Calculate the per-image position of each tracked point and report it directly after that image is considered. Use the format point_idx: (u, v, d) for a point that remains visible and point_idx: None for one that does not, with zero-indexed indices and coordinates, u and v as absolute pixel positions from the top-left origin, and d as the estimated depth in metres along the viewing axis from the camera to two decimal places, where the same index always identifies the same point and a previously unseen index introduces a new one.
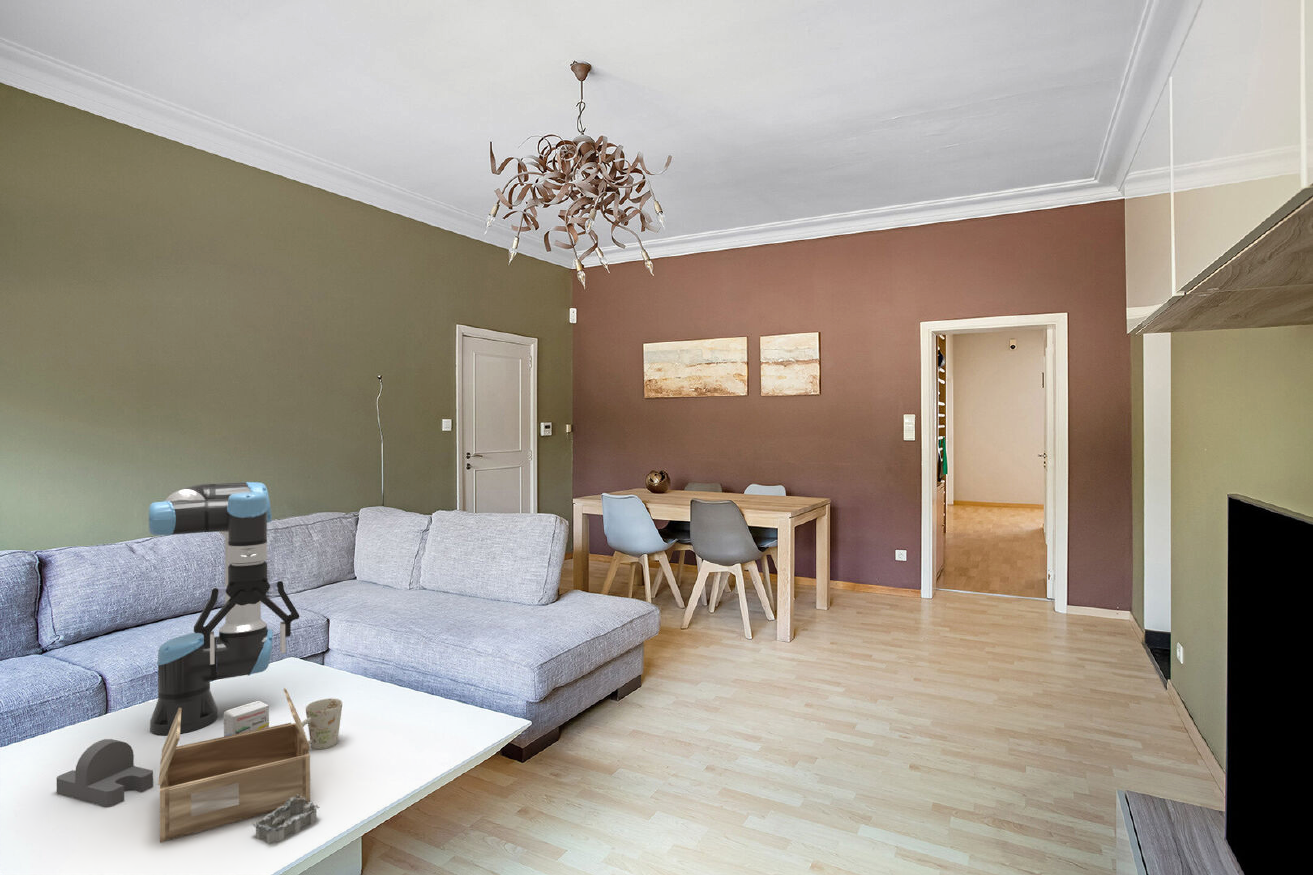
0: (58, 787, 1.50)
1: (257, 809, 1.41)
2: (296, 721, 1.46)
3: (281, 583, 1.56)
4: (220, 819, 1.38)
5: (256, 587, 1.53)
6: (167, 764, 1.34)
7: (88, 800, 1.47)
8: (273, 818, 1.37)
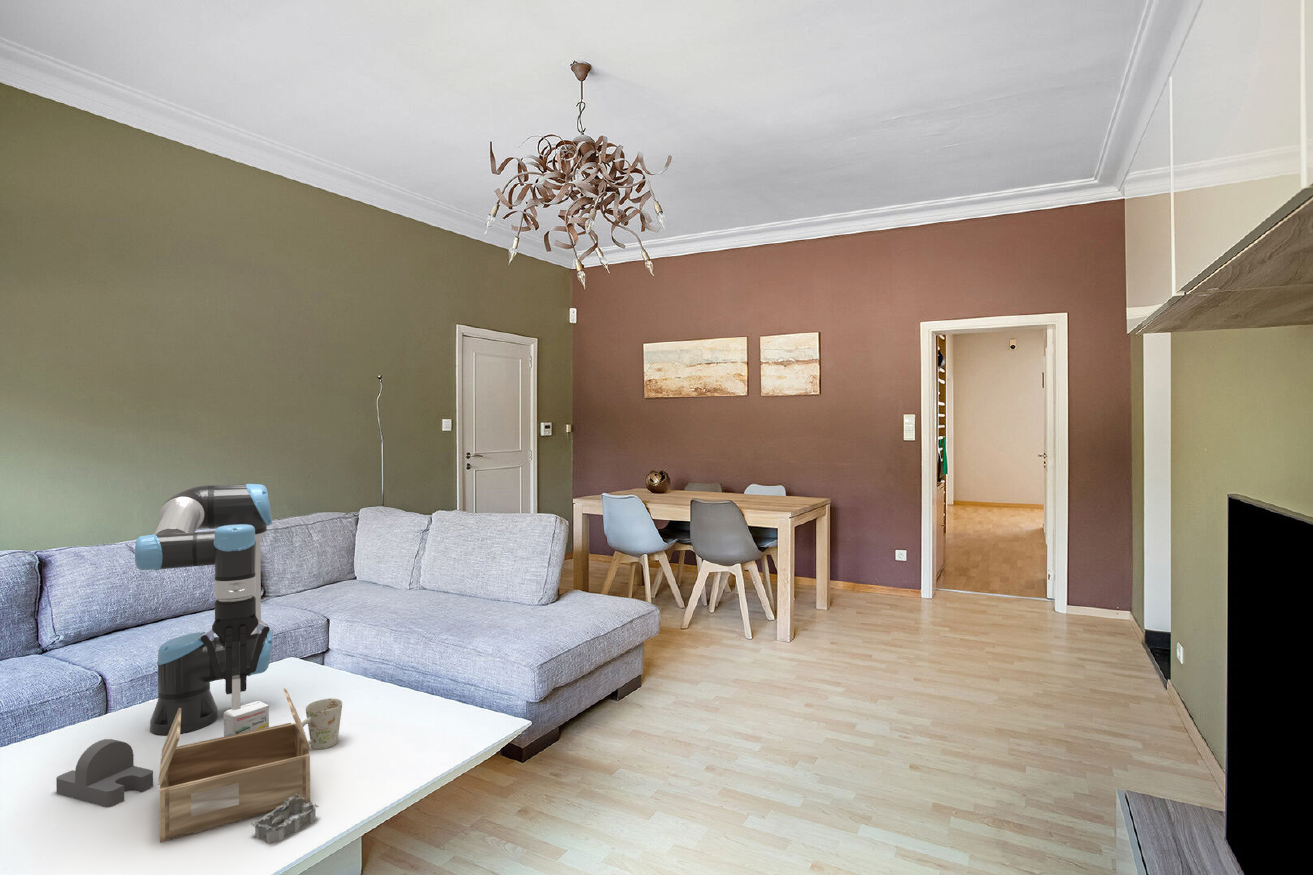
0: (58, 787, 1.50)
1: (257, 809, 1.41)
2: (296, 721, 1.46)
3: (268, 629, 1.50)
4: (220, 819, 1.38)
5: (246, 625, 1.48)
6: (167, 764, 1.34)
7: (88, 800, 1.47)
8: (272, 818, 1.37)
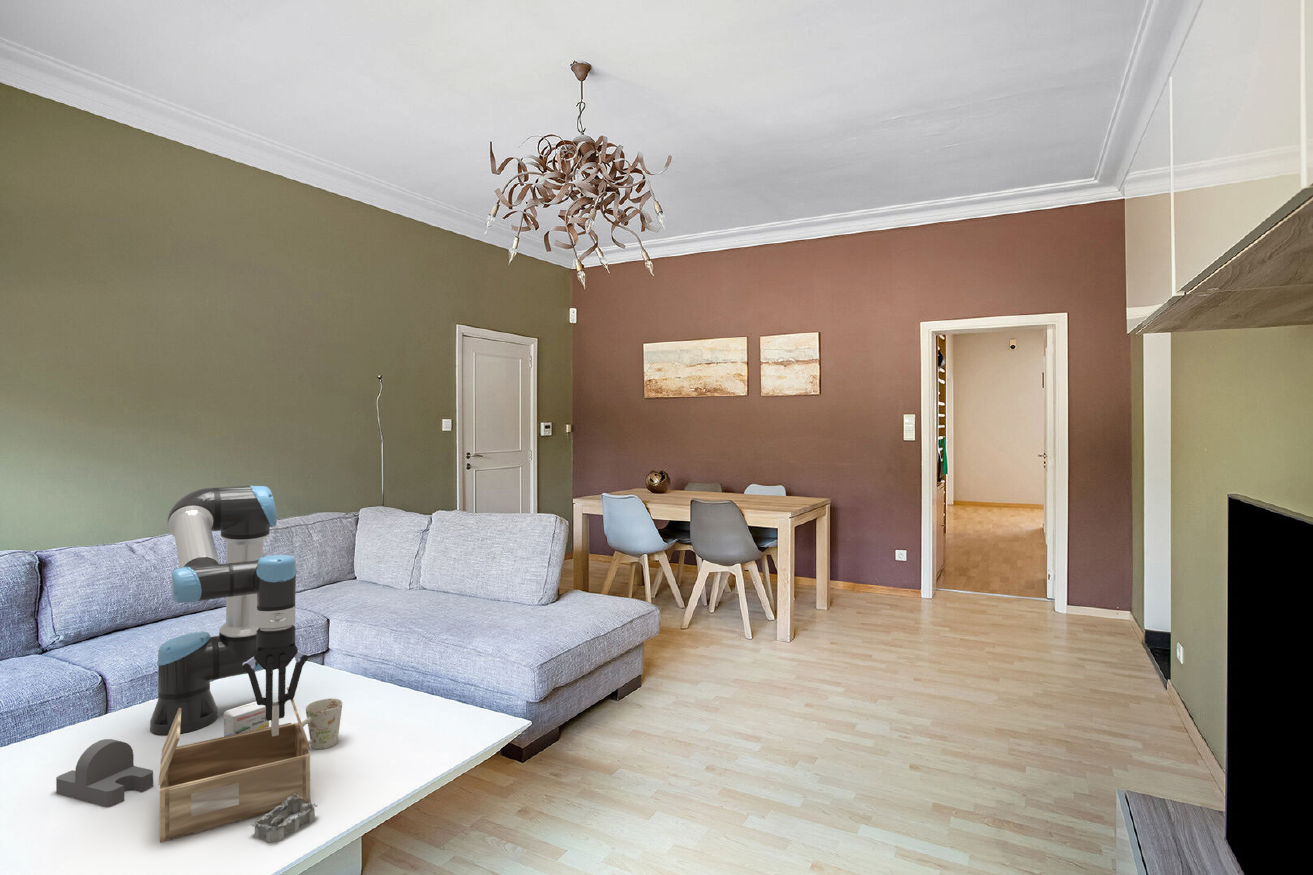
0: (58, 787, 1.50)
1: (257, 809, 1.41)
2: (299, 720, 1.46)
3: (306, 657, 1.54)
4: (220, 819, 1.38)
5: (286, 653, 1.52)
6: (167, 764, 1.34)
7: (88, 800, 1.47)
8: (271, 818, 1.37)
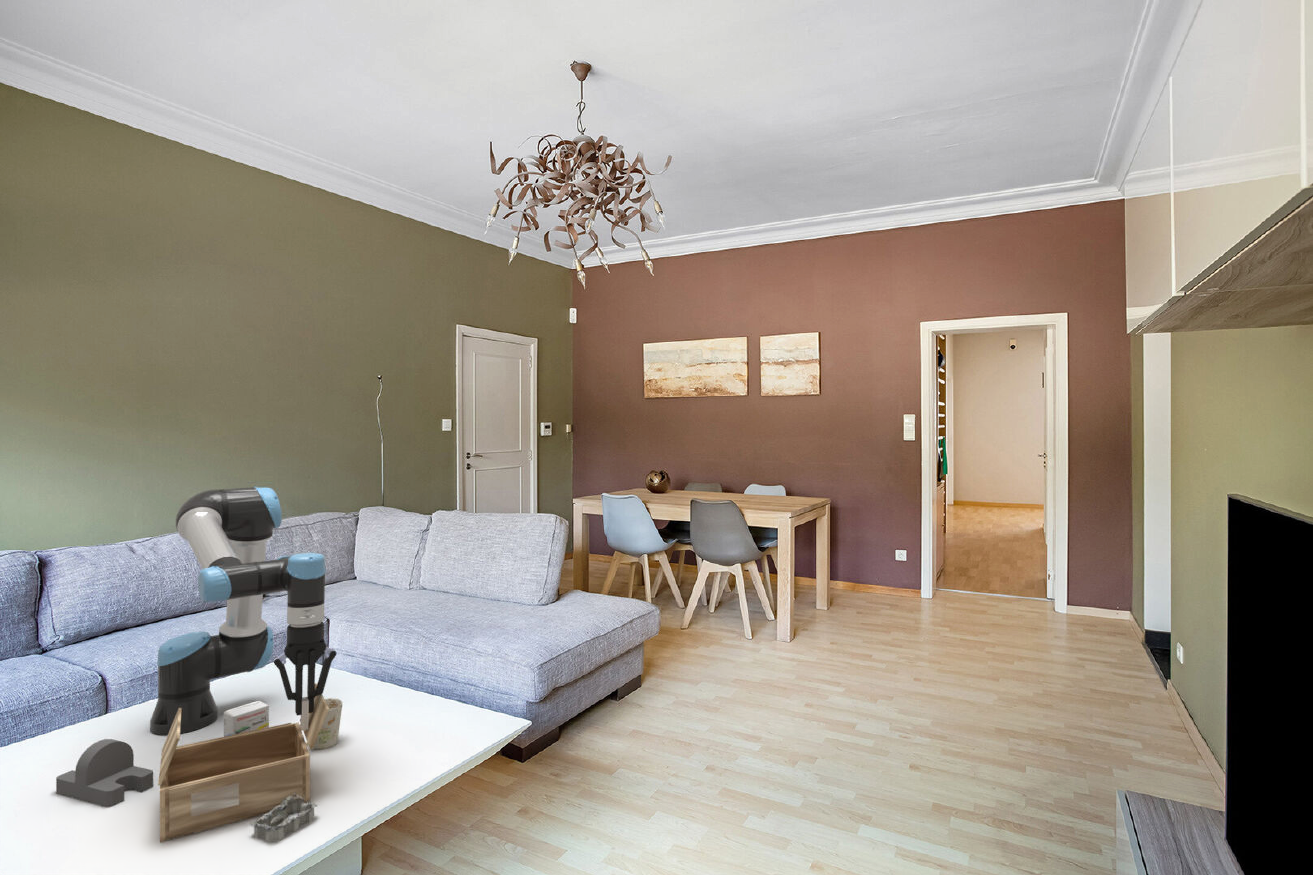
0: (58, 787, 1.50)
1: (257, 809, 1.41)
2: (324, 716, 1.49)
3: (335, 653, 1.57)
4: (220, 819, 1.38)
5: (316, 649, 1.55)
6: (167, 764, 1.34)
7: (88, 800, 1.47)
8: (271, 817, 1.37)
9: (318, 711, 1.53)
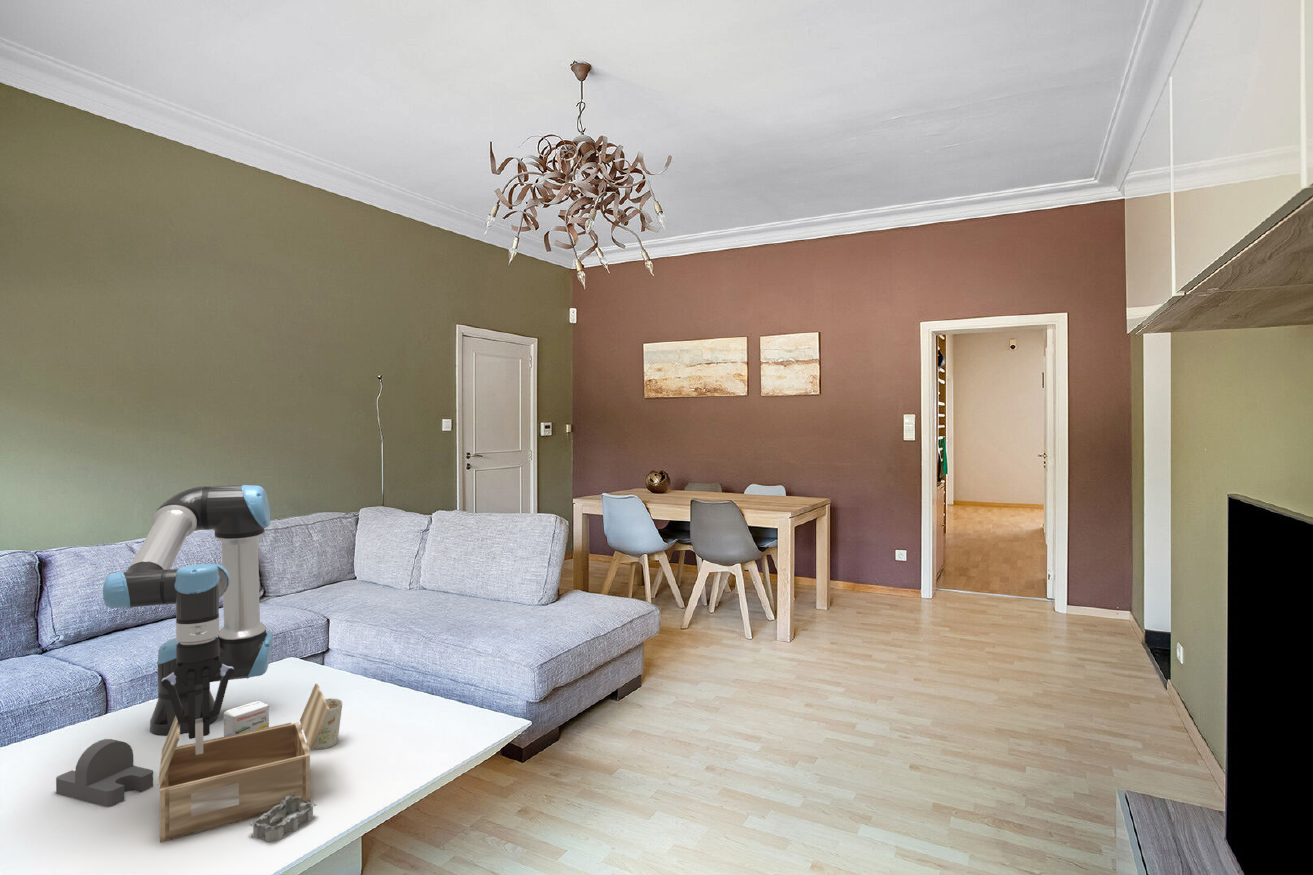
0: (58, 787, 1.50)
1: (257, 809, 1.41)
2: (325, 716, 1.49)
3: (232, 671, 1.46)
4: (220, 819, 1.38)
5: (209, 667, 1.44)
6: (167, 764, 1.34)
7: (88, 800, 1.47)
8: (270, 817, 1.38)
9: (318, 711, 1.53)
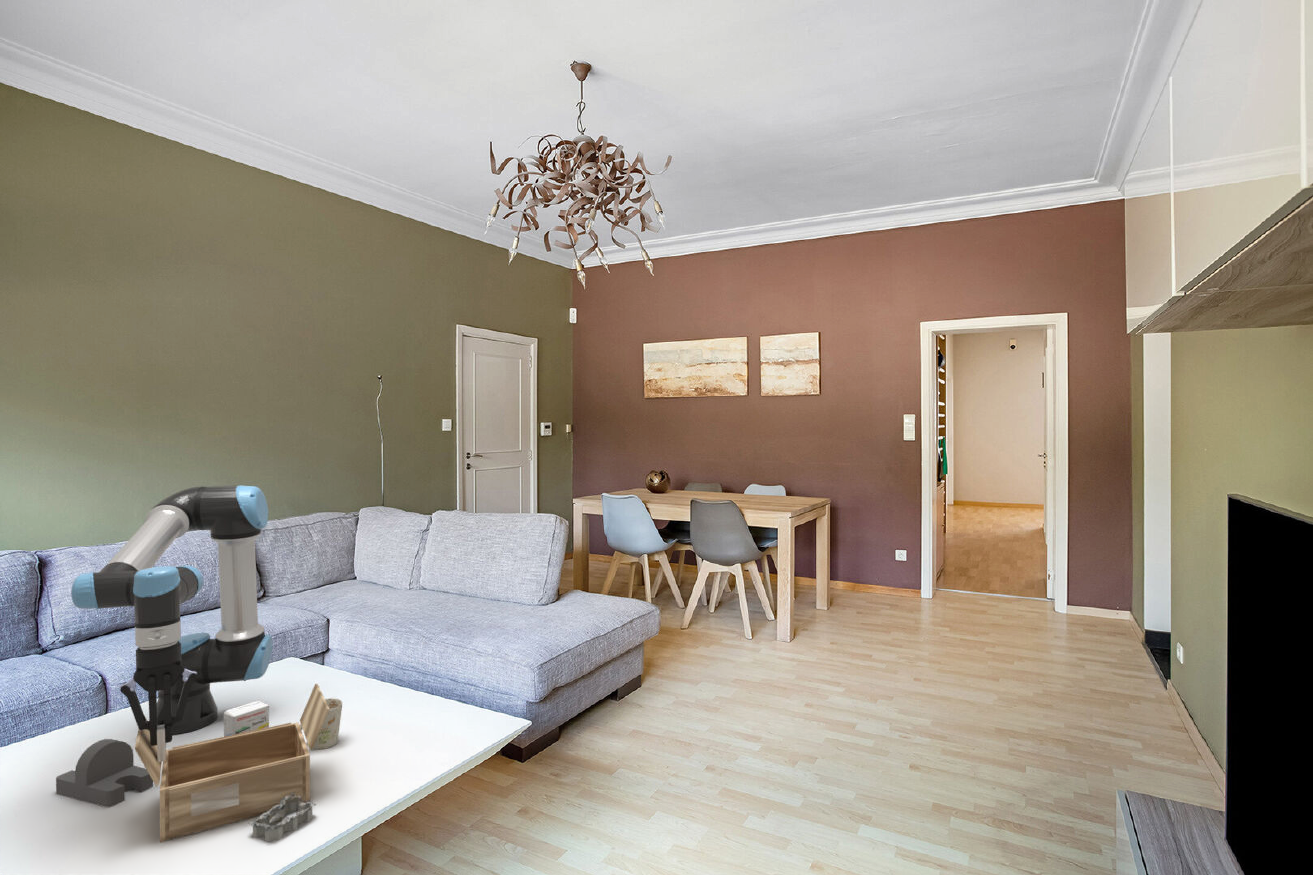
0: (58, 787, 1.50)
1: (257, 809, 1.41)
2: (325, 716, 1.49)
3: (194, 676, 1.42)
4: (220, 819, 1.38)
5: (171, 672, 1.40)
6: (148, 769, 1.32)
7: (88, 800, 1.47)
8: (269, 817, 1.38)
9: (318, 711, 1.53)
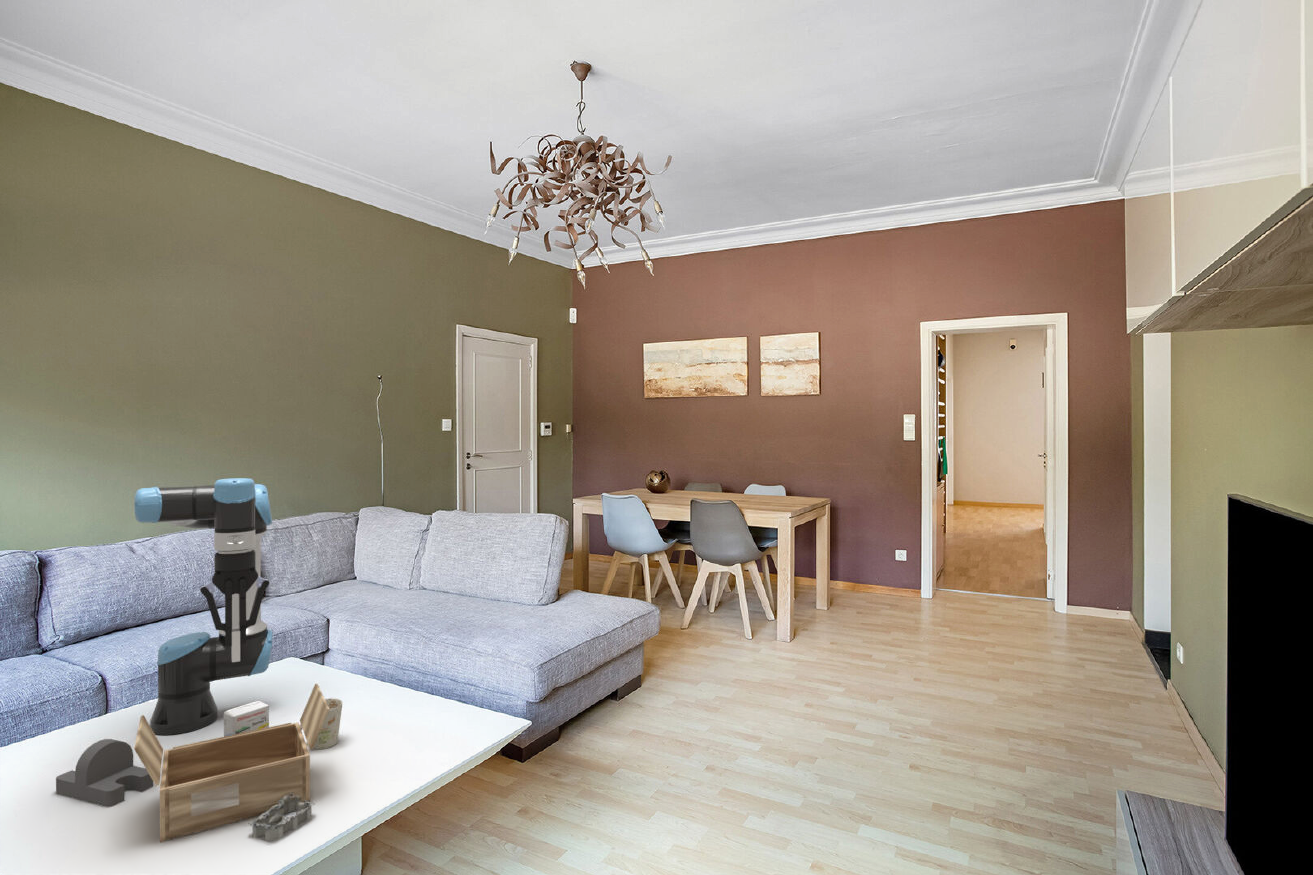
0: (58, 787, 1.50)
1: (257, 809, 1.41)
2: (325, 716, 1.49)
3: (267, 582, 1.50)
4: (220, 819, 1.38)
5: (246, 578, 1.48)
6: (147, 769, 1.32)
7: (88, 800, 1.47)
8: (268, 817, 1.38)
9: (318, 711, 1.53)
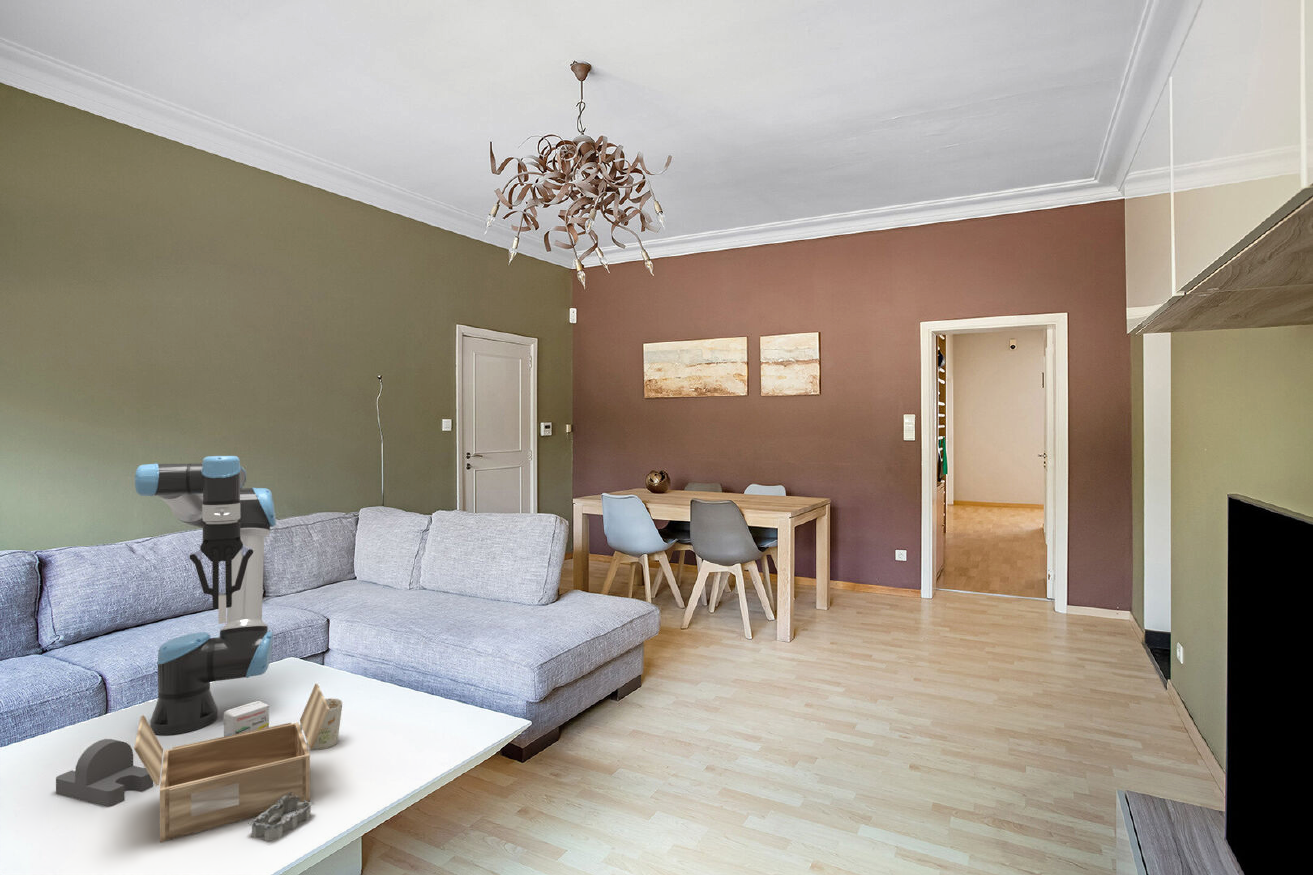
0: (57, 787, 1.50)
1: (257, 809, 1.41)
2: (325, 716, 1.49)
3: (251, 551, 1.63)
4: (220, 819, 1.38)
5: (232, 547, 1.61)
6: (147, 769, 1.32)
7: (88, 800, 1.47)
8: (267, 816, 1.38)
9: (318, 711, 1.53)
